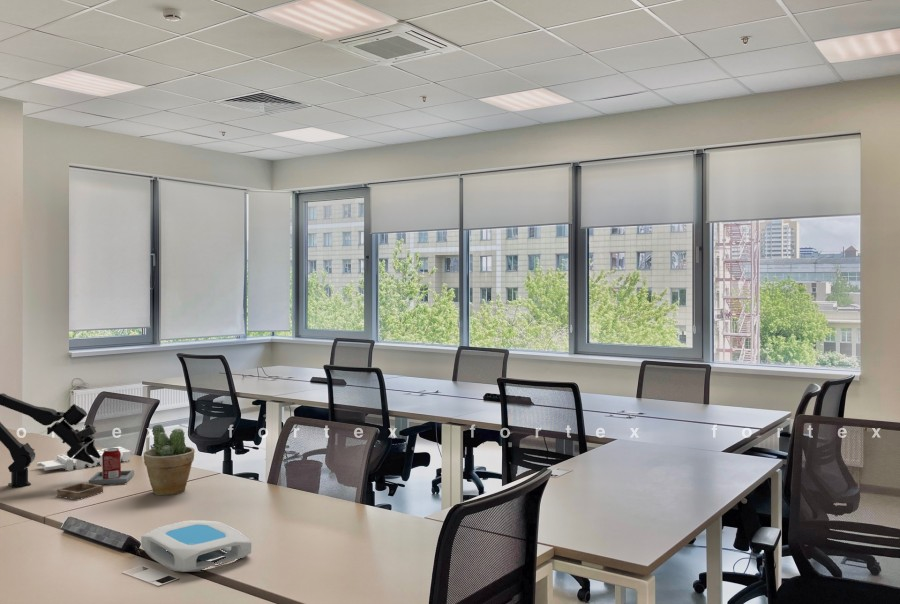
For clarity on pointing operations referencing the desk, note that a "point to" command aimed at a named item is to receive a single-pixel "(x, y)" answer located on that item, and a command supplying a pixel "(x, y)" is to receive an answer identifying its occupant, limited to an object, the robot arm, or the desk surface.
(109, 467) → the soda can
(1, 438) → the robot arm
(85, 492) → the square frame
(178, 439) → the potted plant
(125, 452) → the organizer
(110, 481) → the tray
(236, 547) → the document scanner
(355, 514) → the desk surface
